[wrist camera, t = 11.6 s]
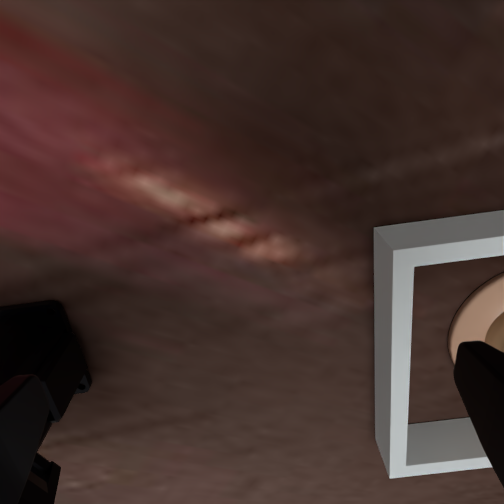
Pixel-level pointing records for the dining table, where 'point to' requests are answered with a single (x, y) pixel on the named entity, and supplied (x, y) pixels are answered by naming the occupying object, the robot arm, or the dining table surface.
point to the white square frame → (399, 337)
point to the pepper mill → (496, 333)
